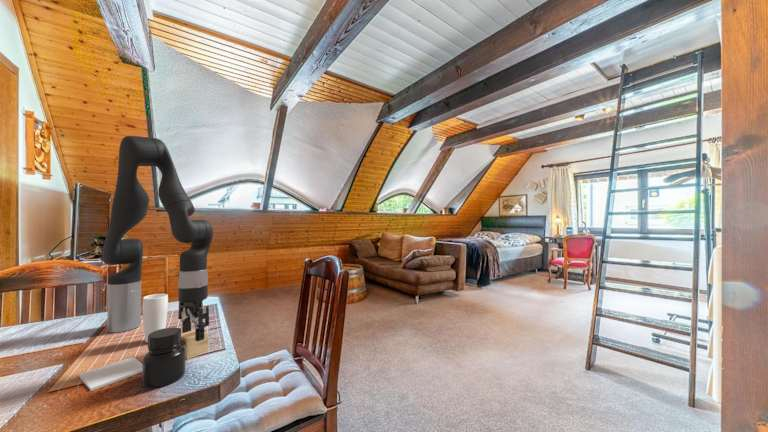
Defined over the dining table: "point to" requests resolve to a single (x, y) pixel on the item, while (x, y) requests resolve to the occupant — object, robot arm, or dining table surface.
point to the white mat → (111, 373)
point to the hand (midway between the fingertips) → (193, 337)
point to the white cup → (154, 313)
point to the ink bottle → (163, 358)
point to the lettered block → (194, 344)
